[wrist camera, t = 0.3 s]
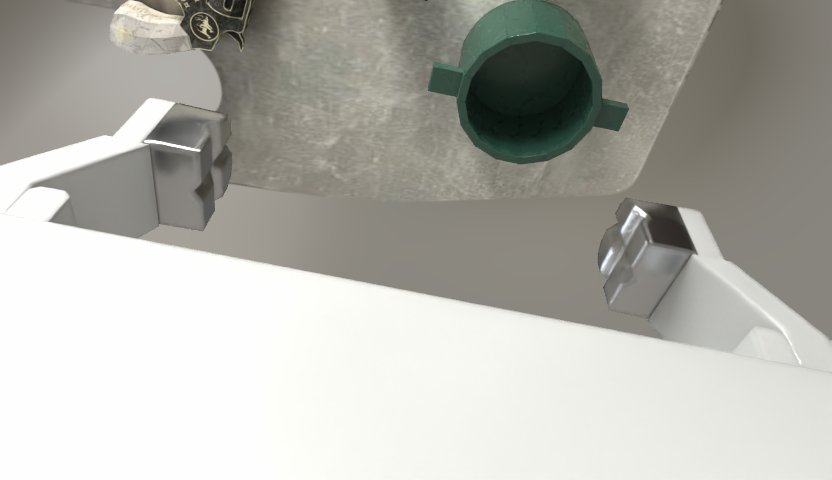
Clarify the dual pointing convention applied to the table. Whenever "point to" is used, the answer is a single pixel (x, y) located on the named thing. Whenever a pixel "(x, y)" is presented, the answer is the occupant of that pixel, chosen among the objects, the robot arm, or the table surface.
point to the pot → (527, 84)
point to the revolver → (179, 26)
